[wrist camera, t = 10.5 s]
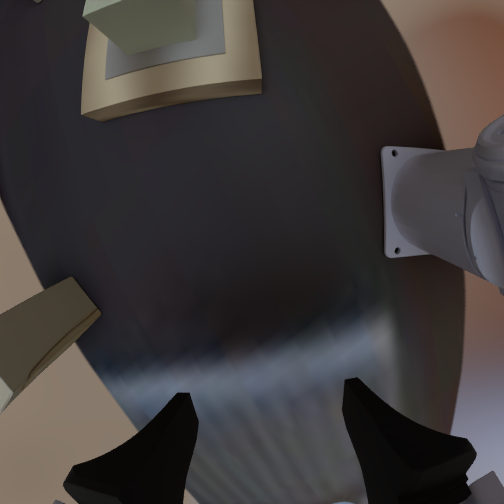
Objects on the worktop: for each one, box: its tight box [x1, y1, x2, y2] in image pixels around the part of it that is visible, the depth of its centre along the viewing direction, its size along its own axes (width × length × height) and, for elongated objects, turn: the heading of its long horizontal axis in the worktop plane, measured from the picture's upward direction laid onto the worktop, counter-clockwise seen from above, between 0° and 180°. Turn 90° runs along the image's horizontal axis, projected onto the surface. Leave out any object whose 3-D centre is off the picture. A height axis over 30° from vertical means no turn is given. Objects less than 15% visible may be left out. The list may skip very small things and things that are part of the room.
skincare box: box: [0, 277, 101, 414], centre depth 16 cm, size 6×4×12 cm
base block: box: [81, 0, 262, 122], centre depth 15 cm, size 12×12×3 cm
